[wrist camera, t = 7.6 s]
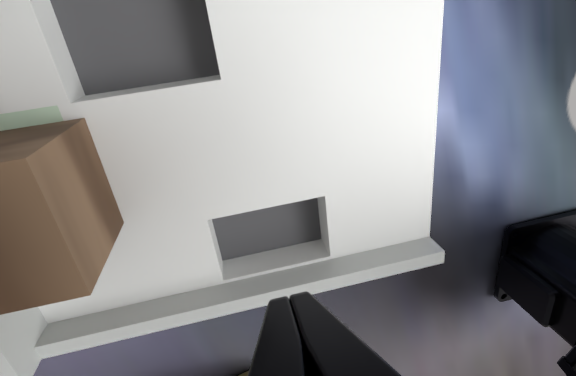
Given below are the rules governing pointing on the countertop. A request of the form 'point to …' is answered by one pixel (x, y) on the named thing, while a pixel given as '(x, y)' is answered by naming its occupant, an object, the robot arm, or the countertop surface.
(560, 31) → the countertop surface
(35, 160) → the block
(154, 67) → the board
